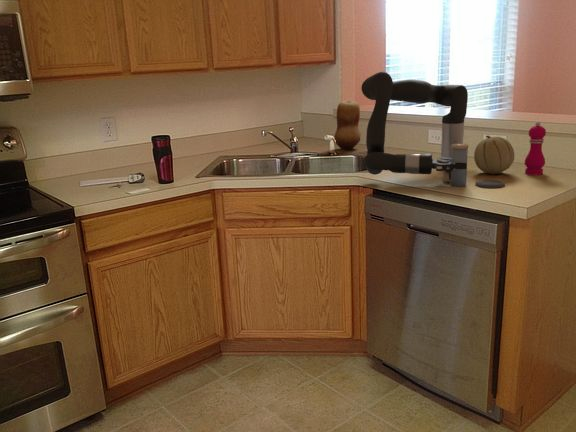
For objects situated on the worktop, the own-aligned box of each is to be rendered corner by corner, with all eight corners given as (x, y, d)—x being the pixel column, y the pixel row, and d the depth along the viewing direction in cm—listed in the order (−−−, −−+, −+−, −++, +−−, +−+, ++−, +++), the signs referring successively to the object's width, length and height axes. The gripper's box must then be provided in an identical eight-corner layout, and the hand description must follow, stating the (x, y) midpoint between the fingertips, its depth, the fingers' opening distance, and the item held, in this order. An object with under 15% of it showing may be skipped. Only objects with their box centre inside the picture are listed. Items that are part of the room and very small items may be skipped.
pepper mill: (544, 172, 209) (548, 120, 204) (544, 175, 203) (548, 123, 198) (524, 171, 212) (527, 120, 207) (523, 175, 206) (527, 122, 200)
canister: (450, 183, 199) (451, 143, 195) (466, 183, 198) (468, 143, 194) (449, 186, 194) (451, 146, 190) (466, 187, 192) (468, 146, 188)
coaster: (475, 181, 200) (475, 180, 199) (503, 182, 197) (503, 180, 197) (475, 187, 191) (475, 186, 190) (505, 188, 188) (506, 186, 187)
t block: (443, 178, 207) (443, 166, 206) (456, 178, 206) (457, 166, 204) (443, 181, 202) (443, 168, 201) (456, 182, 201) (457, 168, 200)
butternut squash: (354, 152, 274) (353, 102, 267) (330, 150, 280) (329, 102, 273) (364, 147, 285) (364, 99, 278) (341, 146, 292) (340, 100, 285)
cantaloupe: (514, 177, 202) (517, 138, 198) (473, 177, 207) (475, 138, 202) (511, 169, 216) (513, 132, 212) (472, 169, 220) (474, 133, 216)
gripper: (417, 157, 190) (467, 157, 185) (420, 150, 204) (466, 150, 199) (416, 178, 193) (466, 178, 188) (419, 169, 206) (465, 170, 201)
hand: (466, 164), depth 193 cm, fingers closed on canister, 5 cm apart
